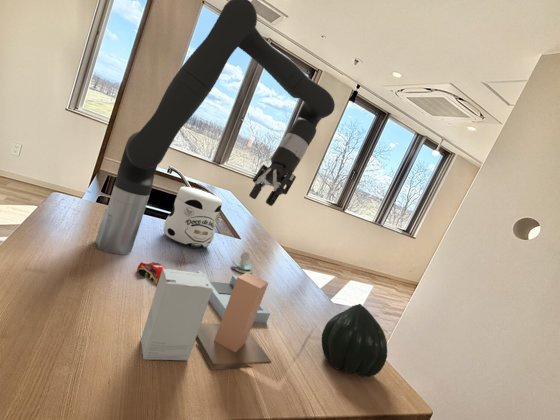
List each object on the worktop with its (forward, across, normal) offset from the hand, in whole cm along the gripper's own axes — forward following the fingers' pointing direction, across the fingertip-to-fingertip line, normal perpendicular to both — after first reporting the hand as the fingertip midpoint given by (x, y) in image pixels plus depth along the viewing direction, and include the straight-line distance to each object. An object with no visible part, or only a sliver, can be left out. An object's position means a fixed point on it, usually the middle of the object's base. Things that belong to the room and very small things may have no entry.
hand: (259, 201), depth 102 cm
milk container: (+23, -33, +6) cm, 41 cm away
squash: (+24, +34, +21) cm, 47 cm away
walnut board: (+32, +26, -6) cm, 41 cm away
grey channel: (+28, +8, +3) cm, 29 cm away
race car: (+32, -1, -13) cm, 35 cm away
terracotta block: (+31, +26, -6) cm, 41 cm away
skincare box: (+37, +26, -19) cm, 49 cm away
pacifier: (+20, -14, +19) cm, 31 cm away
